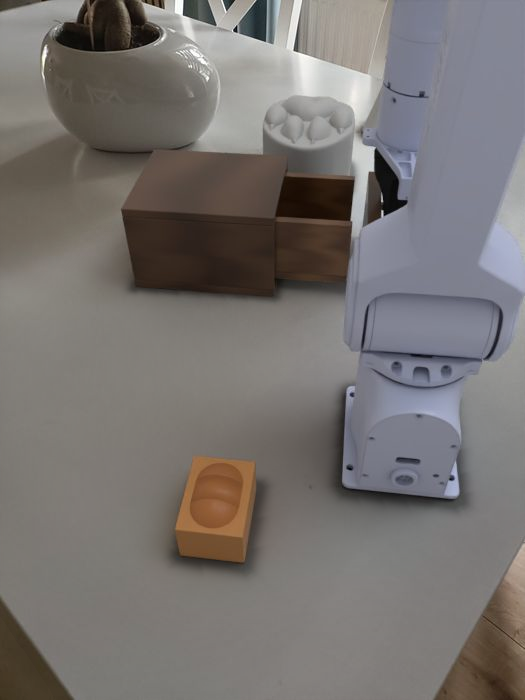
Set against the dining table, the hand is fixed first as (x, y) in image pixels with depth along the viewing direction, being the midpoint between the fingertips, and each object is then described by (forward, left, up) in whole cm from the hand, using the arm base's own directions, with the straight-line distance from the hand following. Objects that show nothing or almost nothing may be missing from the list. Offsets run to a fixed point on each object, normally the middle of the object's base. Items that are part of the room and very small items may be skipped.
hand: (395, 226), depth 59 cm
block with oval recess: (-31, +12, -5) cm, 33 cm away
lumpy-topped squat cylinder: (+16, +10, -5) cm, 20 cm away
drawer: (-1, +6, -4) cm, 7 cm away
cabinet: (-1, +18, -5) cm, 18 cm away
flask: (+30, 0, -5) cm, 31 cm away
